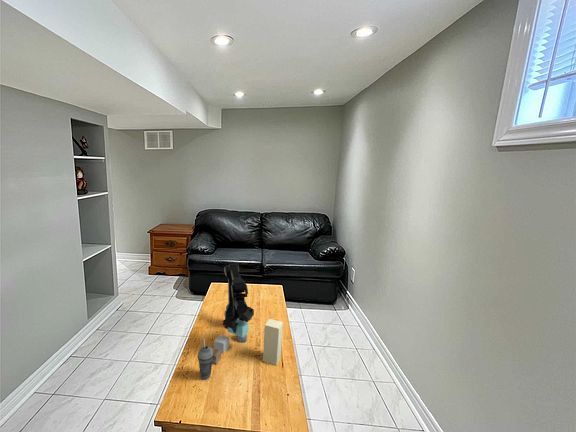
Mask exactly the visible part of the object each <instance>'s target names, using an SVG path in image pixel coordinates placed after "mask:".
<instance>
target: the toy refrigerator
mask: <svg viewBox="0 0 576 432" xmlns="http://www.w3.org/2000/svg"><path fill="white" fill-rule="evenodd" d="M283 328H284V321H281V320H276V319H272V318H268V320H267V321H266V322H265V324H264V332H263V333H264V334H263V350H262V351H263V352H262V353H263V354H262V362H264V363H267V364H270V365H273V366H277V365H278V363H279V361H280V360H281V357H282V344H283V333H284V331H283V330H284V329H283Z"/></svg>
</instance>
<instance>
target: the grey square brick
mask: <svg viewBox="0 0 576 432" xmlns="http://www.w3.org/2000/svg"><path fill="white" fill-rule="evenodd" d="M213 348H214V349H218V350H221V354H225V352H226V351H228V349H229V348H230V336H226V335H223V334H219V335H218V336H217V337H216V338H215V339H214V341H213Z"/></svg>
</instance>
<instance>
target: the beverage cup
mask: <svg viewBox="0 0 576 432" xmlns="http://www.w3.org/2000/svg"><path fill="white" fill-rule="evenodd" d="M202 339H203V341H202V342H203V346H202V347H201V348H200V349H199V350H198V353H197V360H198V367H199V375H200V379H201V380H202V381H207V380H209V379H210V378H211V374H212V366H213V364H212V359H213V350H212V348H213V347H211V346H209V345H206V343H205V341H206V340H205V337H202Z"/></svg>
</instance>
